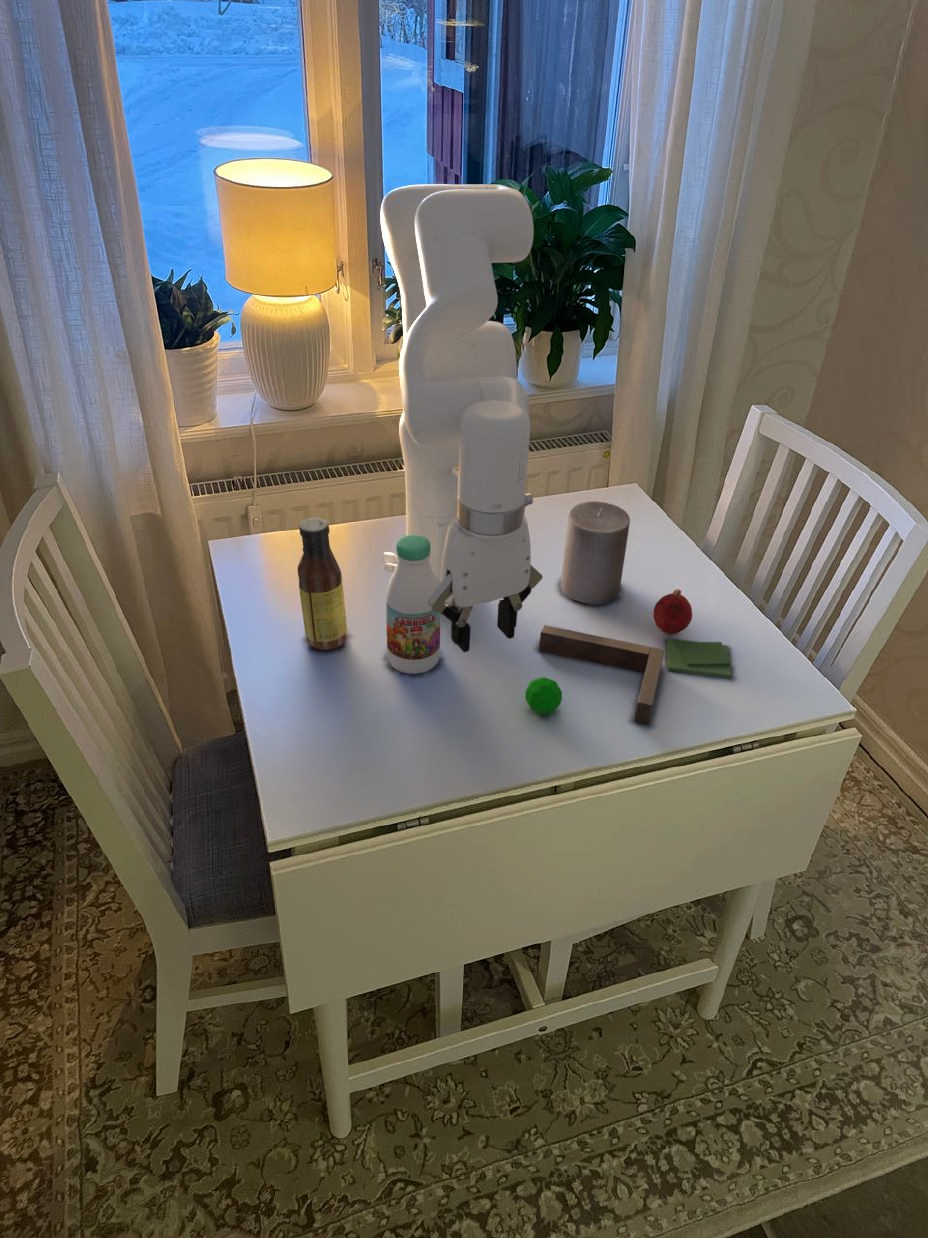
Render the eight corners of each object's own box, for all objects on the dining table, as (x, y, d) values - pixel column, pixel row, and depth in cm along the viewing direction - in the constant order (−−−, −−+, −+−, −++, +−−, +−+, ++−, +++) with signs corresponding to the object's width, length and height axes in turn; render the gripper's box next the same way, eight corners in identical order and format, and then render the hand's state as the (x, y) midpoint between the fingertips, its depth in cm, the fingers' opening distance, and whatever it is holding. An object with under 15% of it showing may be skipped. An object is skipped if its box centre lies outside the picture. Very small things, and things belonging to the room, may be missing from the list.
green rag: (668, 670, 136) (669, 664, 136) (667, 641, 142) (668, 635, 142) (730, 678, 135) (732, 672, 135) (727, 648, 141) (728, 642, 141)
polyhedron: (529, 693, 131) (531, 667, 128) (563, 701, 130) (566, 674, 127) (520, 716, 127) (523, 689, 125) (555, 724, 126) (559, 697, 123)
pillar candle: (603, 568, 158) (614, 490, 149) (629, 600, 151) (642, 519, 142) (550, 577, 156) (558, 497, 147) (574, 610, 148) (584, 528, 139)
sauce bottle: (355, 634, 141) (349, 519, 130) (333, 657, 137) (325, 540, 125) (318, 622, 143) (309, 509, 132) (295, 644, 139) (284, 529, 127)
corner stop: (520, 696, 131) (522, 677, 129) (541, 643, 141) (543, 624, 139) (648, 725, 127) (652, 705, 125) (661, 668, 137) (664, 649, 135)
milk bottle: (379, 649, 138) (376, 533, 127) (428, 638, 141) (429, 523, 129) (397, 680, 133) (396, 562, 121) (447, 668, 135) (451, 551, 124)
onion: (687, 647, 141) (696, 604, 136) (649, 641, 142) (657, 598, 137) (687, 625, 146) (696, 582, 141) (650, 620, 147) (658, 577, 142)
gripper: (537, 482, 111) (527, 606, 122) (407, 512, 104) (407, 640, 115) (572, 510, 106) (558, 637, 117) (437, 544, 99) (434, 675, 110)
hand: (483, 638), depth 116 cm, fingers open, 5 cm apart
